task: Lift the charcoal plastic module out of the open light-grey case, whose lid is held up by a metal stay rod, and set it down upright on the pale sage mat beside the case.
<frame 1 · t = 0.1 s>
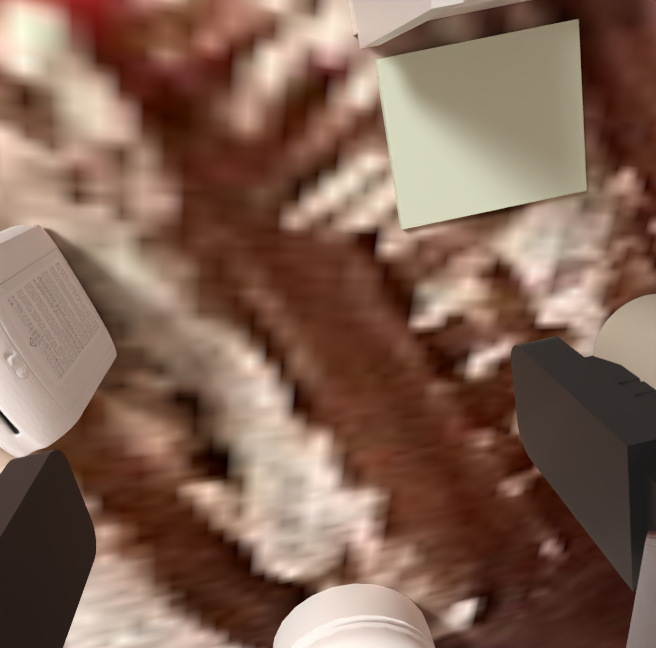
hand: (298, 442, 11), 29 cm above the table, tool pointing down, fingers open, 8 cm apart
honey pot: (351, 646, 51), on the table
mat: (483, 127, 38), on the table
photo printer: (57, 299, 39), on the table
travel mug: (642, 345, 45), on the table
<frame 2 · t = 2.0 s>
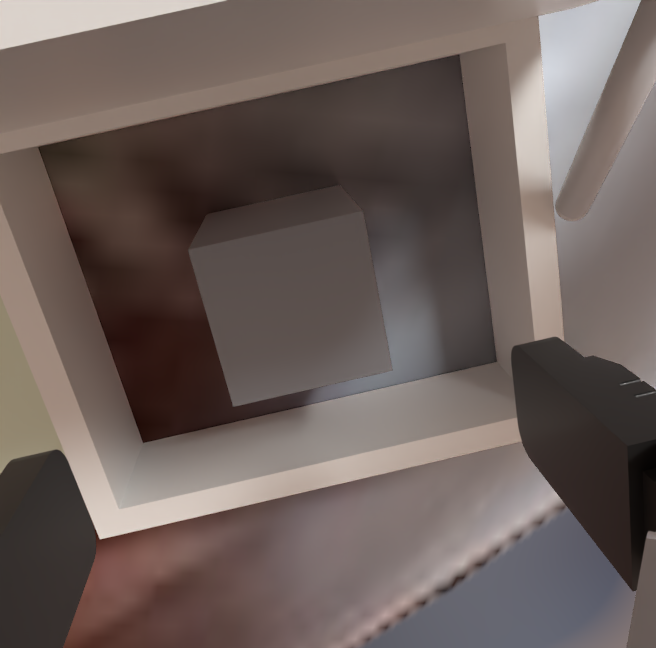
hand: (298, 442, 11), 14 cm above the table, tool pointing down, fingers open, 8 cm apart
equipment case: (288, 264, 24), on the table
module: (291, 285, 21), in the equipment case
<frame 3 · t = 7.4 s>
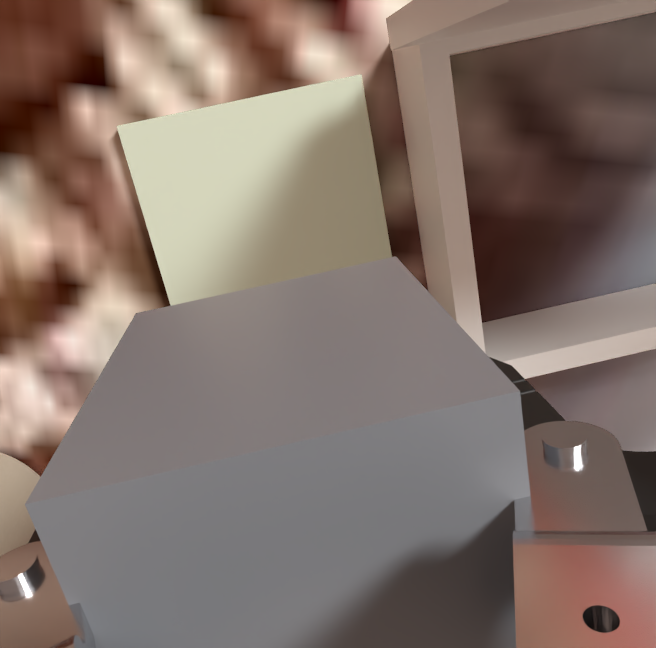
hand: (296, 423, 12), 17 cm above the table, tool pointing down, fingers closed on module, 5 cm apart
mat: (273, 241, 28), on the table
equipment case: (599, 170, 28), on the table
module: (305, 485, 10), point 19 cm above the table, touching gripper
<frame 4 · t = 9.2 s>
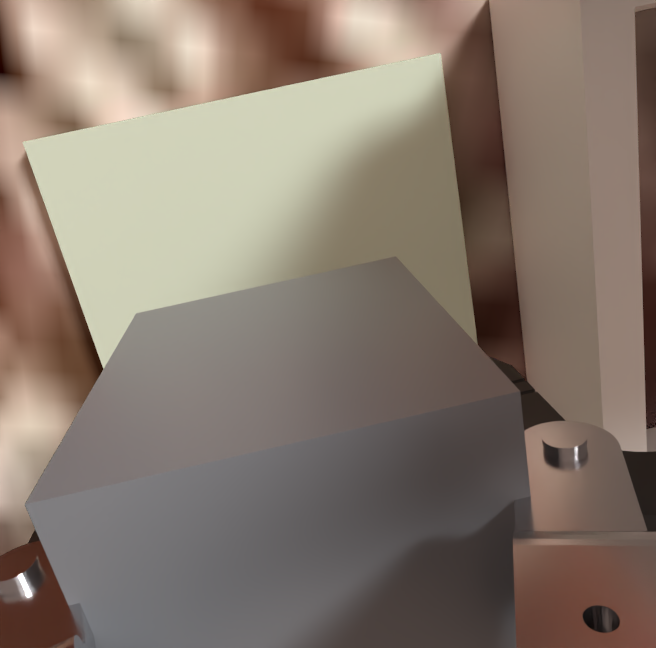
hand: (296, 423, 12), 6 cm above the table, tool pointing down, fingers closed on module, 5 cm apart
mat: (288, 324, 17), on the table
module: (305, 485, 10), point 8 cm above the table, touching gripper
when the fingers open (3 cm above the table, at t = 10.8 s): module drops 1 cm, resting on mat.
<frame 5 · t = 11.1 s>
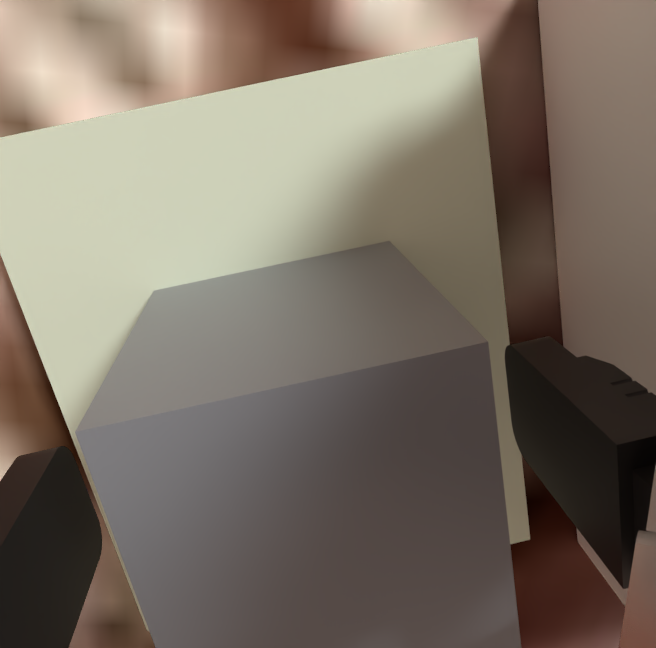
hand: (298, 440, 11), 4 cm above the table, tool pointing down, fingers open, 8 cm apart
mat: (288, 363, 14), on the table
module: (306, 440, 11), on the mat, point 4 cm above the table
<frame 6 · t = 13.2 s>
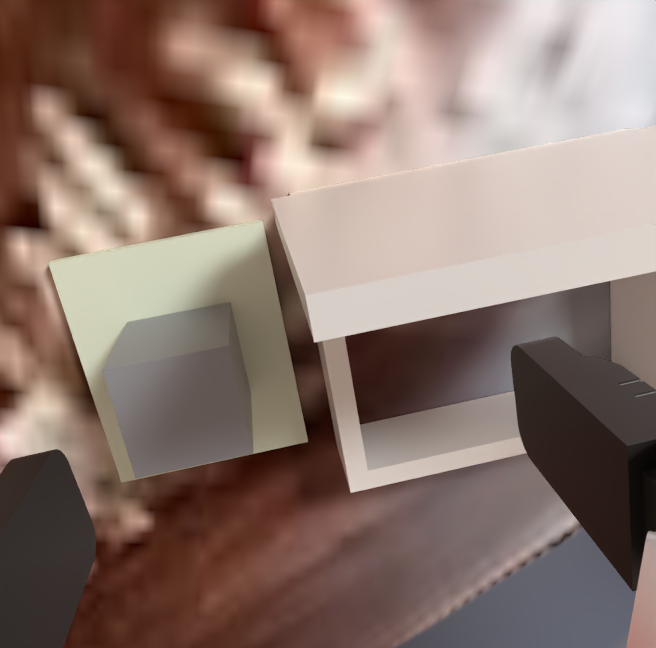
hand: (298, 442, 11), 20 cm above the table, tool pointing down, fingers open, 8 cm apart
mat: (189, 354, 32), on the table
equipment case: (474, 295, 33), on the table
module: (186, 383, 28), on the mat, point 4 cm above the table
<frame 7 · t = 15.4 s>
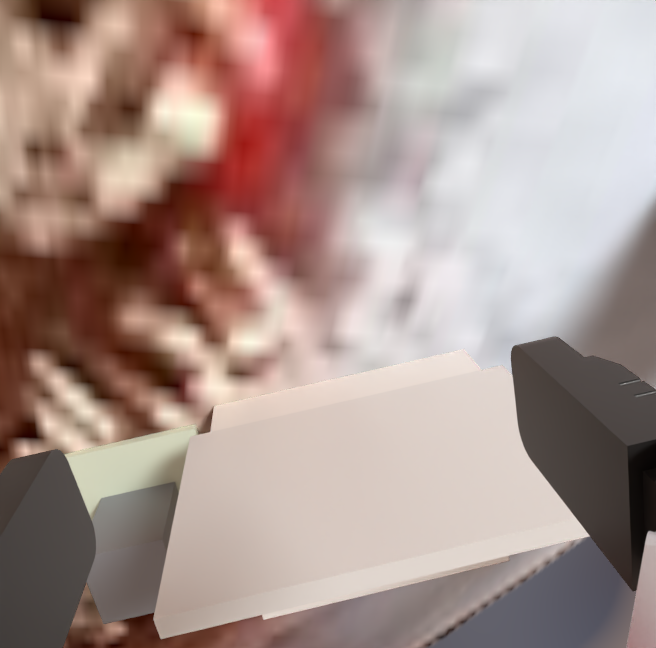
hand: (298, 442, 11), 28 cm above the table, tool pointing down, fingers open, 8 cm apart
mat: (147, 515, 44), on the table
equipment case: (358, 466, 44), on the table
module: (141, 549, 40), on the mat, point 4 cm above the table
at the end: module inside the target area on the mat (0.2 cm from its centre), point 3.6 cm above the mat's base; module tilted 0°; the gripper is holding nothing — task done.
